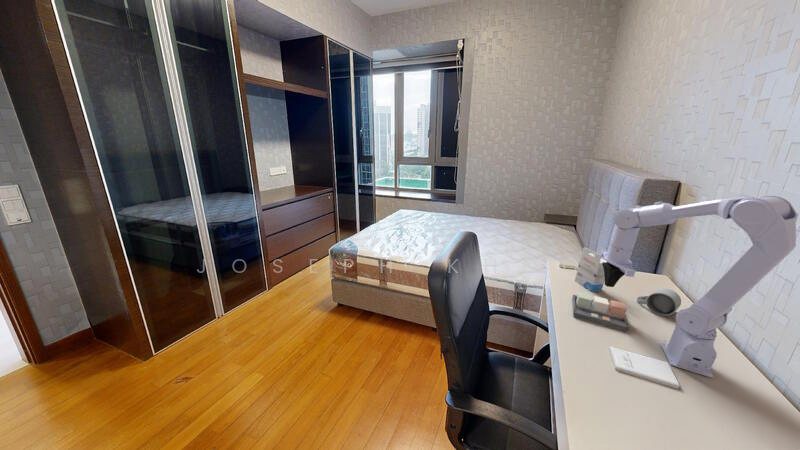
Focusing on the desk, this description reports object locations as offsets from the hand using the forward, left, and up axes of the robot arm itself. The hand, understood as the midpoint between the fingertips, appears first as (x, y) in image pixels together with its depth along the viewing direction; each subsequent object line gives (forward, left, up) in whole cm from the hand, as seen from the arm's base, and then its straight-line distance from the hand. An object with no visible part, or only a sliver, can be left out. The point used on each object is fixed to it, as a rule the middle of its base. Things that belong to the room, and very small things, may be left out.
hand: (608, 285), depth 93 cm
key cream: (-3, +1, -7) cm, 8 cm away
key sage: (-3, +6, -8) cm, 10 cm away
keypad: (-3, +1, -9) cm, 10 cm away
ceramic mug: (+11, -17, -10) cm, 22 cm away
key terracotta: (-3, -3, -7) cm, 9 cm away
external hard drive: (-24, -6, -10) cm, 27 cm away
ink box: (+17, +3, -10) cm, 20 cm away
